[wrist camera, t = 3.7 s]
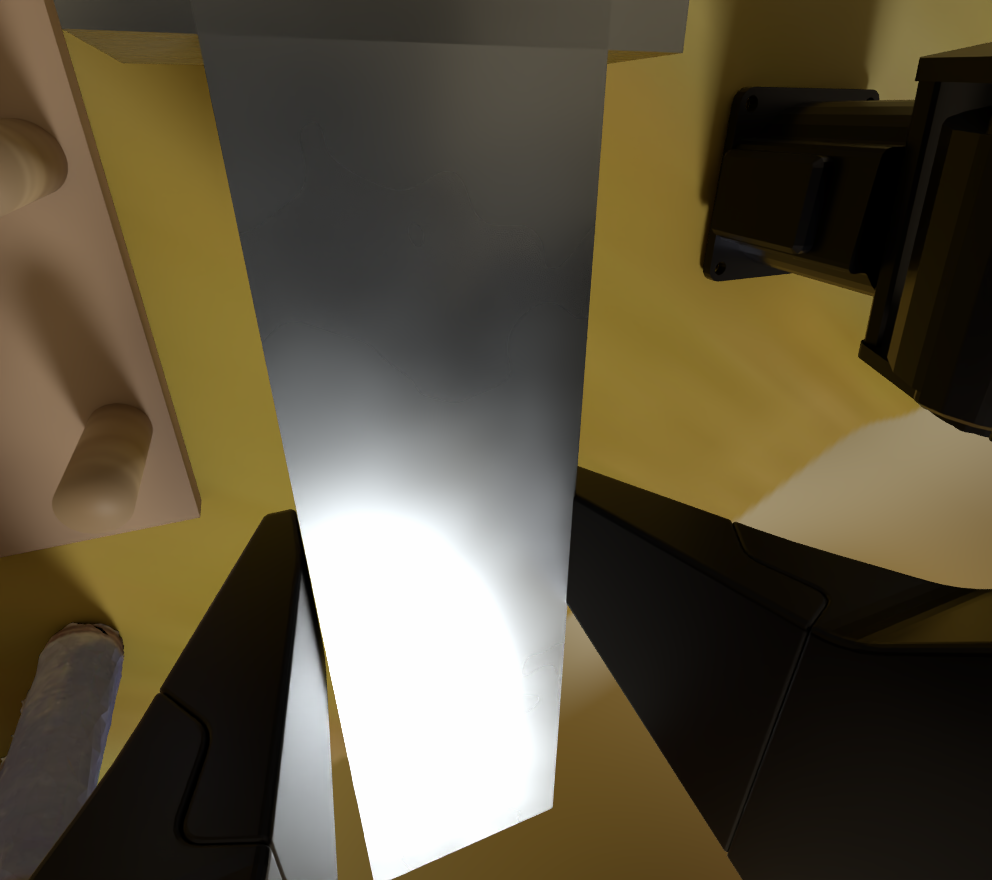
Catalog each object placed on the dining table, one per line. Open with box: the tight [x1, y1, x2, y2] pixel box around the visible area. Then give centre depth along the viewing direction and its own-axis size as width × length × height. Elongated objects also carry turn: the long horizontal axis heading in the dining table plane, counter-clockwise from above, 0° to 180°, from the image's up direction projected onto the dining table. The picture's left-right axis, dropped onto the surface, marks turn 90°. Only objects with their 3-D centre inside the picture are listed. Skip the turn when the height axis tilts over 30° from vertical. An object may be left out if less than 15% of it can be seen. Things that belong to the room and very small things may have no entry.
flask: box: [0, 623, 124, 880], centre depth 17 cm, size 9×3×11 cm, turn 147°
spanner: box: [53, 0, 689, 880], centre depth 8 cm, size 5×16×3 cm, turn 179°
